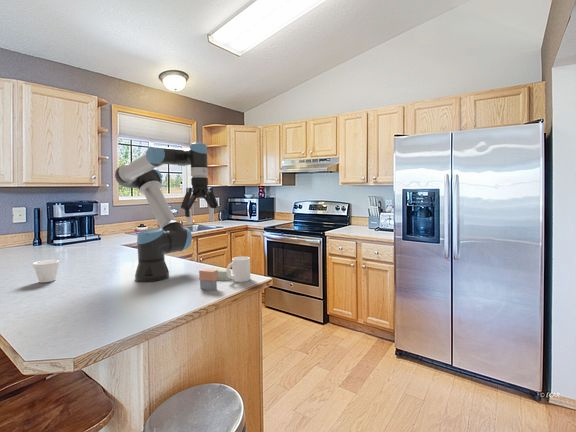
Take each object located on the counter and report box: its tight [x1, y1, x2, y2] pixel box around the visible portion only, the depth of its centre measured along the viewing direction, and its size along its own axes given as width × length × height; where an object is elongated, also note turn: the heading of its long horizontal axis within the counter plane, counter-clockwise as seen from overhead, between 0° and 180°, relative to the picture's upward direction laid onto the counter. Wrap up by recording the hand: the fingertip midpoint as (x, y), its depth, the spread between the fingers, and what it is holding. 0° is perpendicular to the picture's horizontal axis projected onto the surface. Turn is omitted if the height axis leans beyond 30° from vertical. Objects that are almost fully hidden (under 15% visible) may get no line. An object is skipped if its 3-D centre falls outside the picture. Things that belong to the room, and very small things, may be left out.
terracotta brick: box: [198, 268, 219, 281], centre depth 136 cm, size 7×4×4 cm, turn 68°
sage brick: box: [216, 268, 232, 281], centre depth 151 cm, size 7×4×4 cm, turn 79°
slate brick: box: [199, 279, 218, 292], centre depth 136 cm, size 7×4×4 cm, turn 49°
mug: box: [225, 255, 251, 283], centre depth 147 cm, size 12×8×10 cm
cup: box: [32, 259, 60, 284], centre depth 149 cm, size 10×10×9 cm
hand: (201, 222), depth 149 cm, fingers open, 13 cm apart
